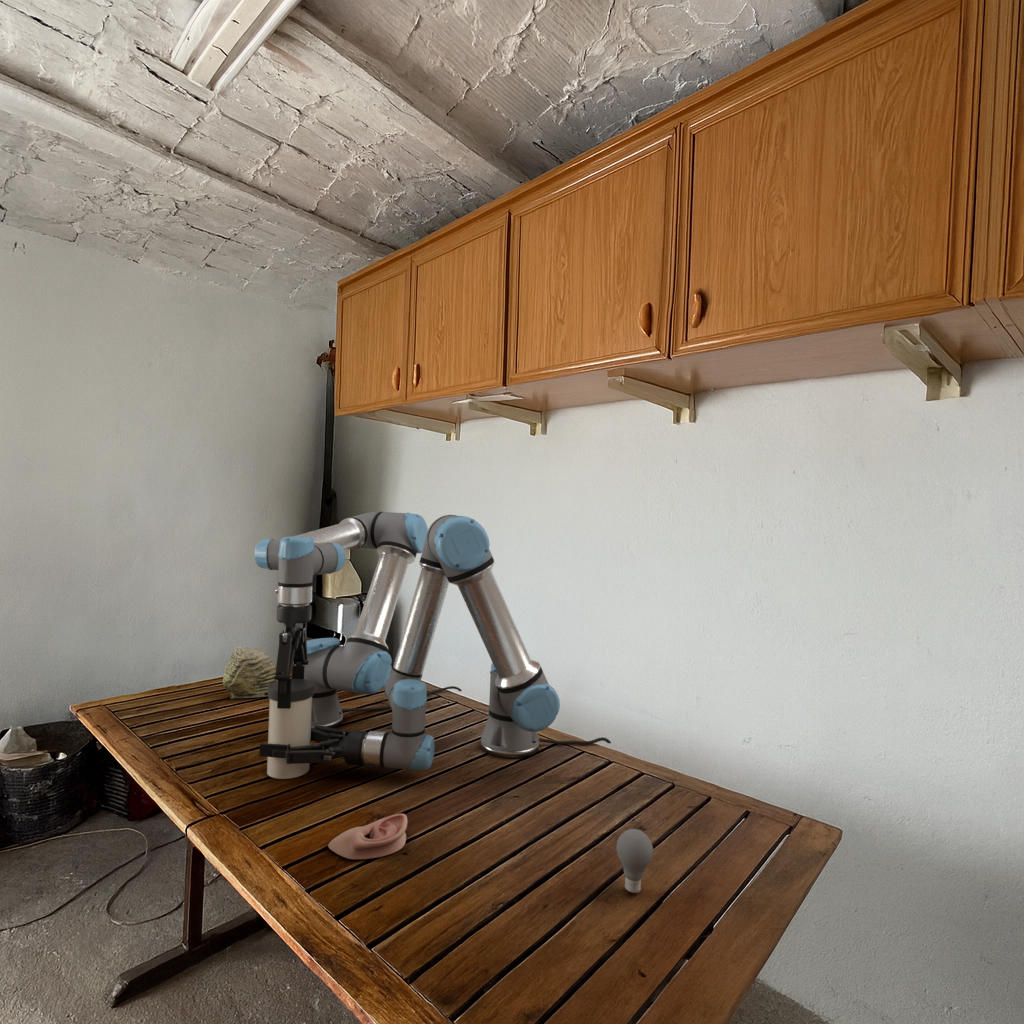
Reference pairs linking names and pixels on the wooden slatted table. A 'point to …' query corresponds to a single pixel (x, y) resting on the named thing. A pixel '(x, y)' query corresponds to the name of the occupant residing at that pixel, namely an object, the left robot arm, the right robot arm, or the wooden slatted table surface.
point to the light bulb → (634, 857)
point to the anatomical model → (372, 839)
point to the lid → (294, 689)
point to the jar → (289, 736)
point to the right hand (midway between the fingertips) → (270, 741)
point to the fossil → (249, 673)
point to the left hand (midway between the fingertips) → (290, 700)
